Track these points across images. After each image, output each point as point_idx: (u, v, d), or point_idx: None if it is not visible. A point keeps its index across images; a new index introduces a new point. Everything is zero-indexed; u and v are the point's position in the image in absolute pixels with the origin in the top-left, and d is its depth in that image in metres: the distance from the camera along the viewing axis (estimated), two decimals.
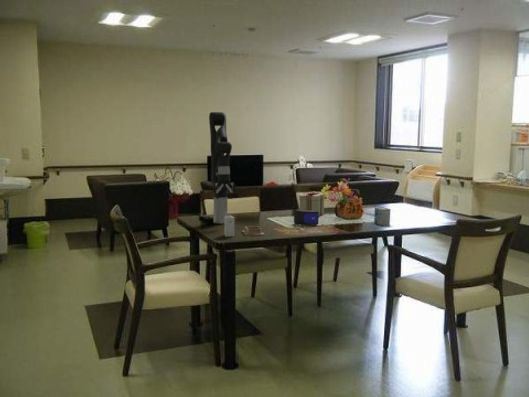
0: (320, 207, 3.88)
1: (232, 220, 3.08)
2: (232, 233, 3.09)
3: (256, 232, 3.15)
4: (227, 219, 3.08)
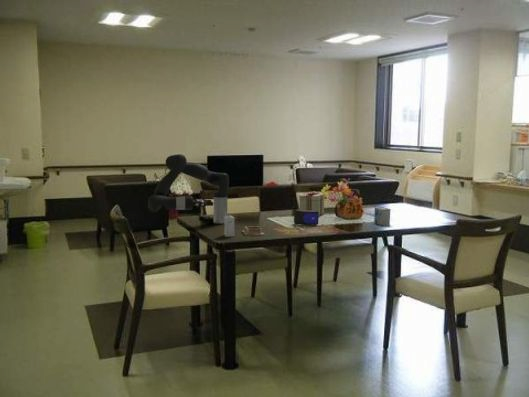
0: (320, 207, 3.88)
1: (232, 220, 3.08)
2: (232, 233, 3.09)
3: (256, 232, 3.15)
4: (227, 219, 3.08)
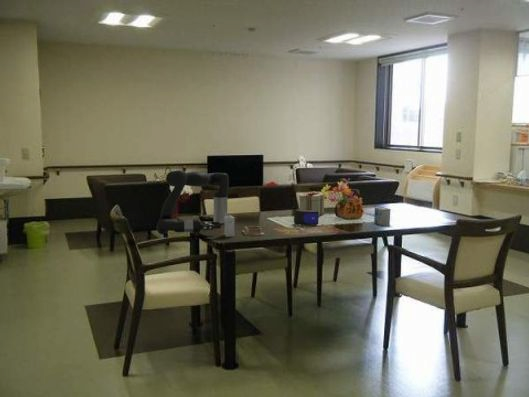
0: (320, 207, 3.88)
1: (232, 220, 3.08)
2: (232, 233, 3.09)
3: (256, 232, 3.15)
4: (227, 219, 3.08)
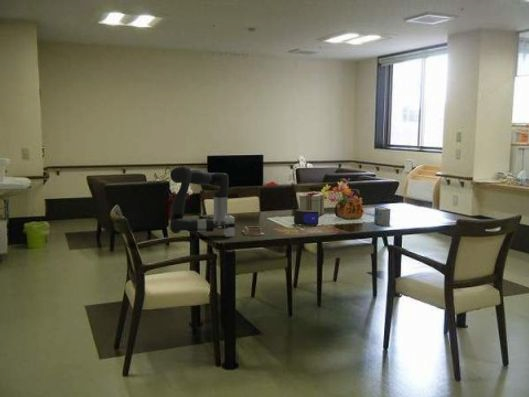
0: (320, 207, 3.88)
1: (232, 220, 3.08)
2: (232, 233, 3.09)
3: (256, 232, 3.15)
4: (227, 219, 3.08)
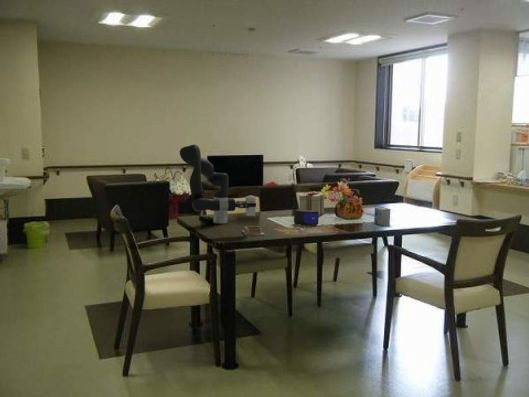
0: (320, 207, 3.88)
1: (253, 200, 3.13)
2: (253, 212, 3.14)
3: (256, 232, 3.15)
4: (248, 199, 3.12)
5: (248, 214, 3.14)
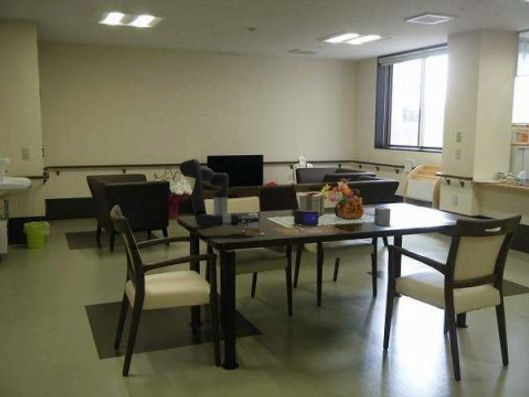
0: (320, 207, 3.88)
1: (256, 217, 3.15)
2: None
3: (256, 232, 3.15)
4: (251, 216, 3.15)
5: None
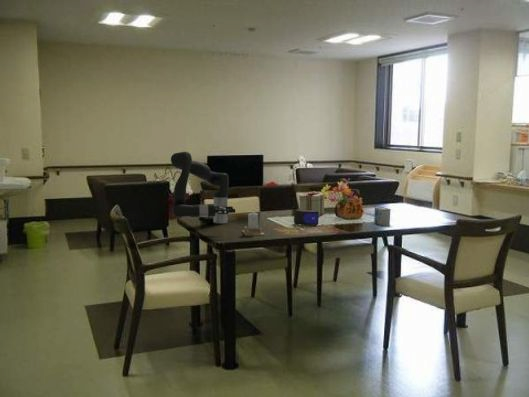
0: (320, 207, 3.88)
1: (256, 217, 3.15)
2: None
3: (256, 232, 3.15)
4: (251, 216, 3.15)
5: None
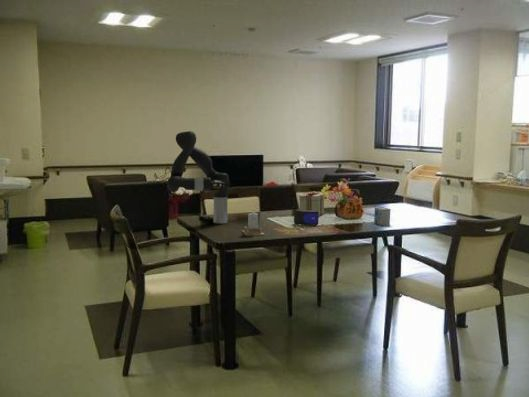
0: (320, 207, 3.88)
1: (256, 217, 3.15)
2: None
3: (256, 232, 3.15)
4: (251, 216, 3.15)
5: None
